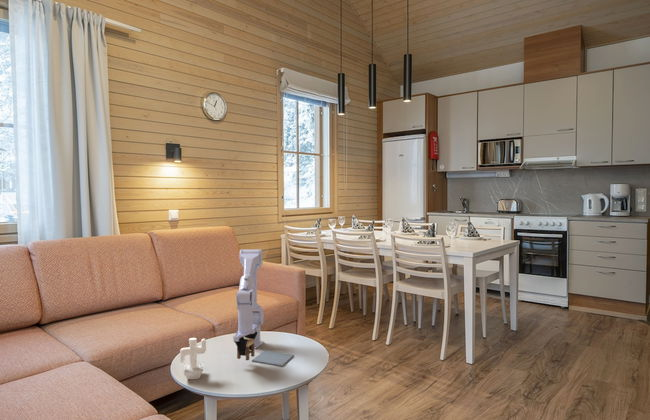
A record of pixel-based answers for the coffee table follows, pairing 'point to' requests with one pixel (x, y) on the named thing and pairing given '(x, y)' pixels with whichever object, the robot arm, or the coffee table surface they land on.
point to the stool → (247, 352)
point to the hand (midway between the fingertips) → (245, 352)
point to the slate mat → (273, 358)
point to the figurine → (193, 359)
